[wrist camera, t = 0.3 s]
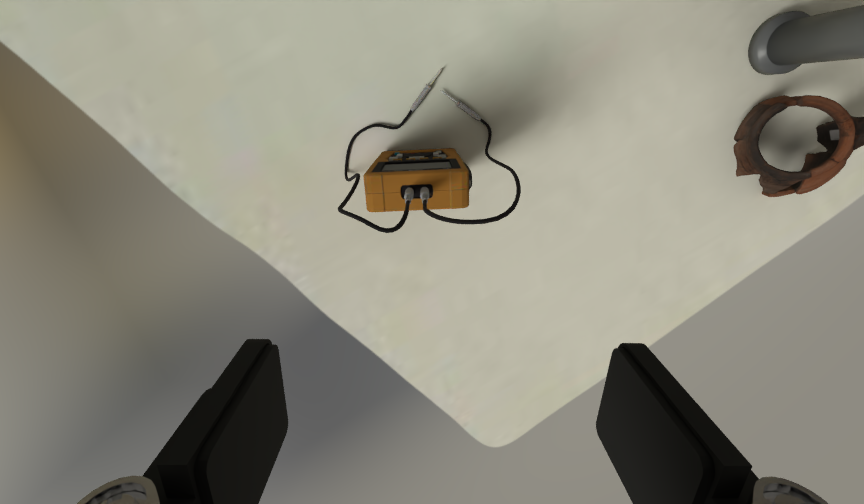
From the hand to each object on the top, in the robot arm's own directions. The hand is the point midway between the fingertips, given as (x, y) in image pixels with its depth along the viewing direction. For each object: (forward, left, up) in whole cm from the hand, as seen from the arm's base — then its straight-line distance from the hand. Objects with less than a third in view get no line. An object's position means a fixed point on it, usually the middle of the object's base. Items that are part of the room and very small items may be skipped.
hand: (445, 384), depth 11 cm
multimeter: (-5, -1, -32) cm, 32 cm away
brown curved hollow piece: (-4, +35, -32) cm, 47 cm away
